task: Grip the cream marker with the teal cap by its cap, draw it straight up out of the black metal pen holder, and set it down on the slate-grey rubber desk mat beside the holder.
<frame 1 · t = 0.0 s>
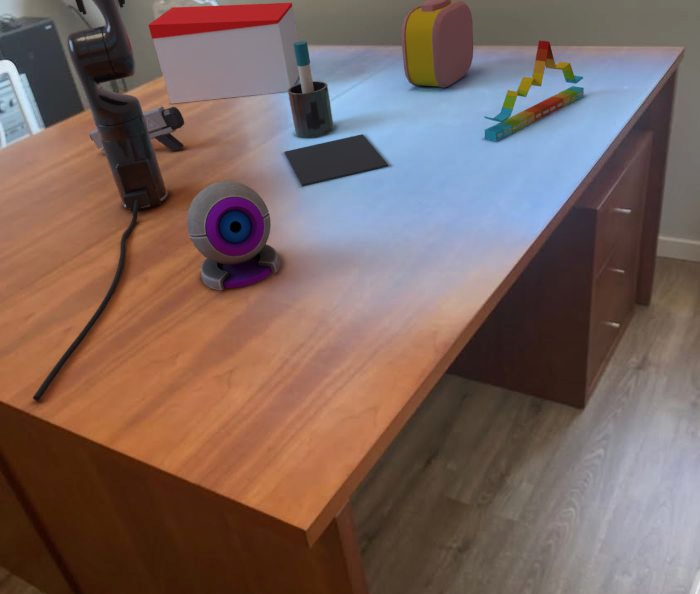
hand: (103, 10, 168), 29 cm above the table, tool pointing down, fingers open, 8 cm apart
chart: (536, 117, 157), on the table
marker: (314, 128, 169), point 1 cm above the table, touching pen holder
webcam: (241, 270, 119), on the table
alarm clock: (440, 82, 186), on the table
gun: (143, 152, 174), on the table
pen holder: (314, 130, 169), on the table
desk mat: (334, 159, 153), on the table
red-lidded white box: (238, 86, 208), on the table
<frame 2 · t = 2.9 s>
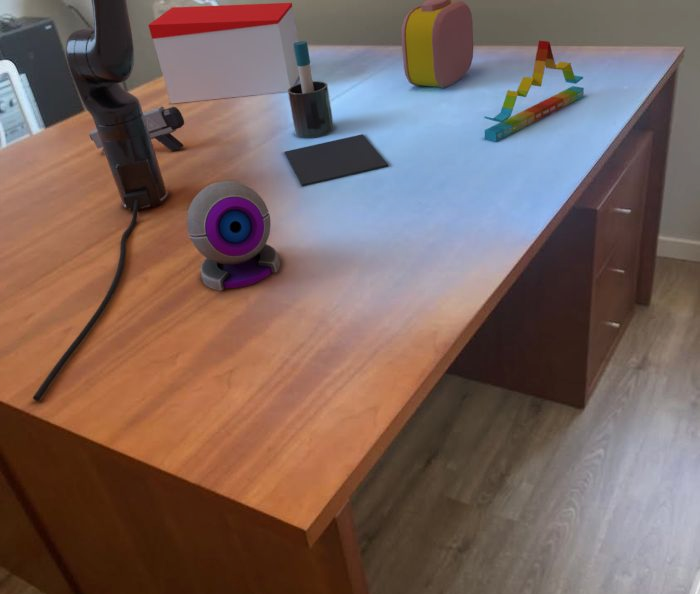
nothing on the table moved.
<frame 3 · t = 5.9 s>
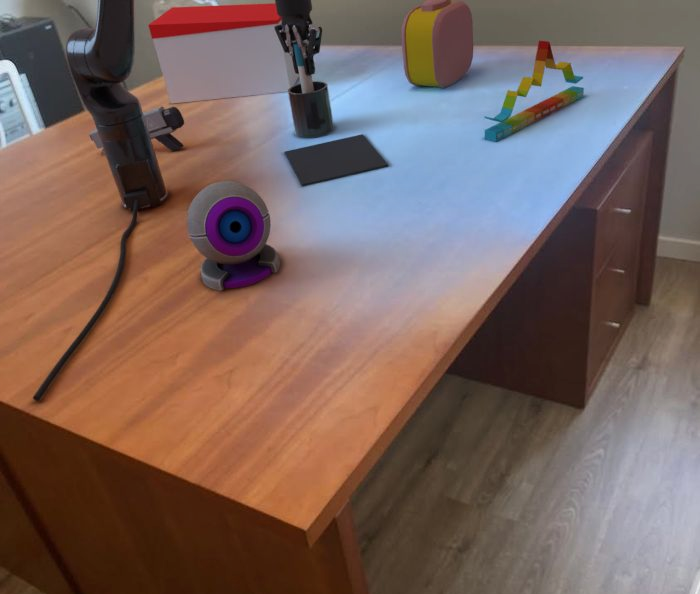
hand: (305, 73, 161), 13 cm above the table, tool pointing down, fingers closed on marker, 3 cm apart
marker: (314, 128, 169), point 1 cm above the table, touching gripper, pen holder
everything else where it was.
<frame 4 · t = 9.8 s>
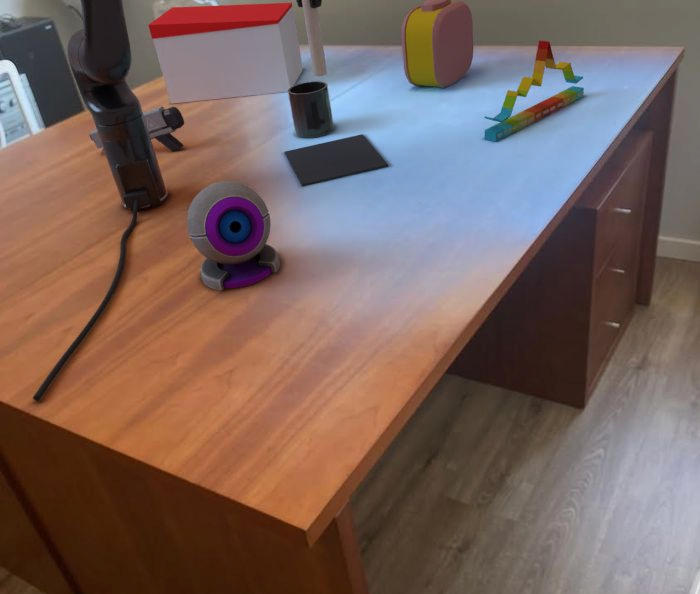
hand: (309, 6, 136), 30 cm above the table, tool pointing down, fingers closed on marker, 3 cm apart
marker: (320, 74, 143), point 17 cm above the table, touching gripper
everything else where it was.
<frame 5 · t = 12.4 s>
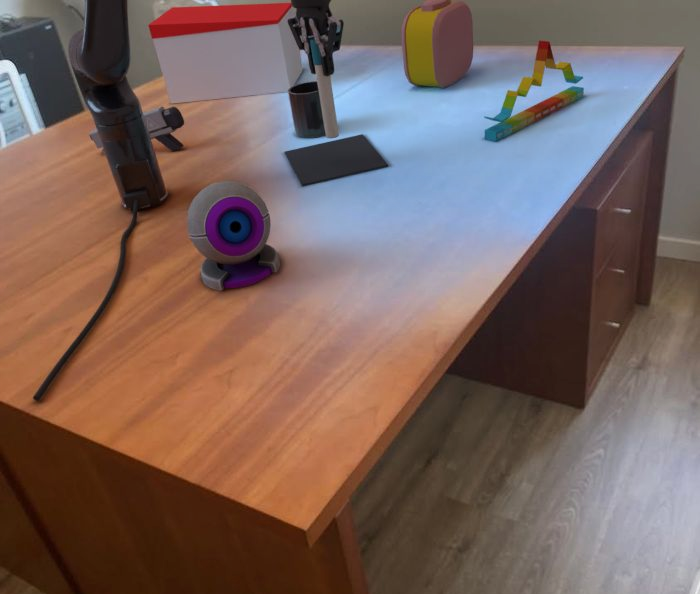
hand: (322, 73, 141), 18 cm above the table, tool pointing down, fingers closed on marker, 3 cm apart
marker: (332, 136, 148), point 6 cm above the table, touching gripper
everything else where it was.
when the fingers open (13 cm above the table, at t = 14.0 s): marker stays where it is, resting on desk mat.
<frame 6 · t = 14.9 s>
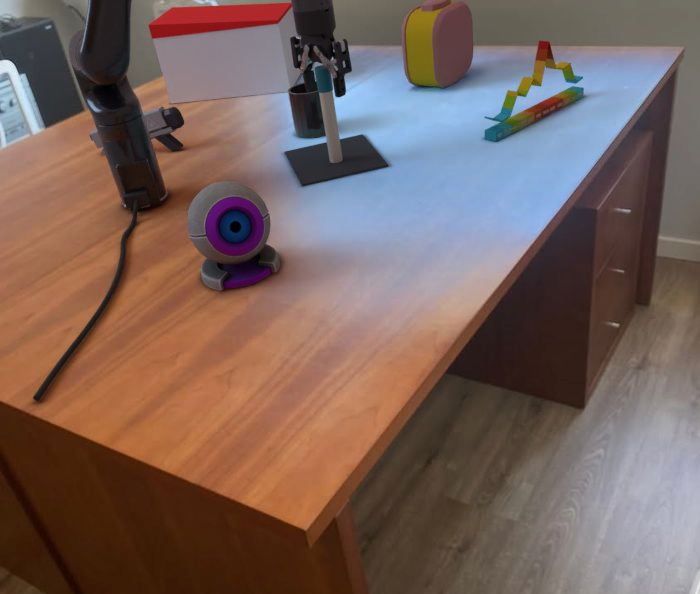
hand: (325, 93, 143), 14 cm above the table, tool pointing down, fingers open, 8 cm apart
marker: (336, 160, 151), resting on desk mat
everything else where it was.
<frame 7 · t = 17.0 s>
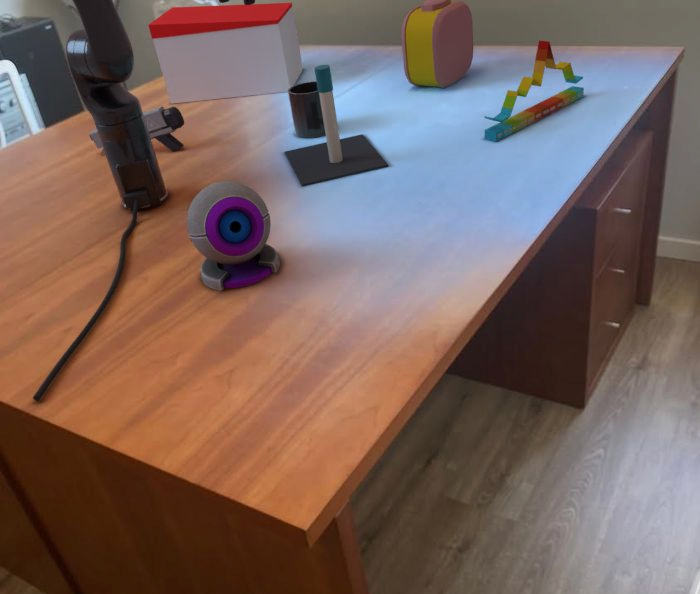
hand: (237, 3, 142), 31 cm above the table, tool pointing down, fingers open, 8 cm apart
nothing on the table moved.
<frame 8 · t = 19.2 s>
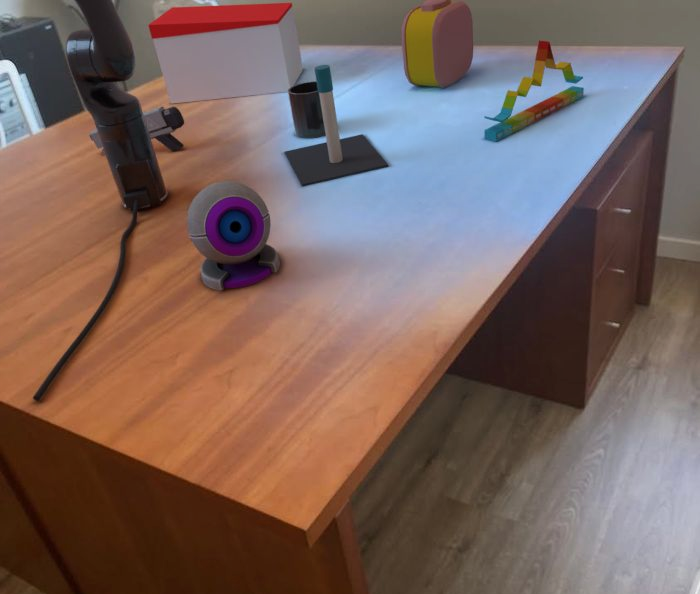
nothing on the table moved.
at the end: marker inside the target area on the desk mat (1.9 cm from its centre), point 0.4 cm above the desk mat's base; marker moved 21.9 cm from its start; the gripper is holding nothing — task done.
